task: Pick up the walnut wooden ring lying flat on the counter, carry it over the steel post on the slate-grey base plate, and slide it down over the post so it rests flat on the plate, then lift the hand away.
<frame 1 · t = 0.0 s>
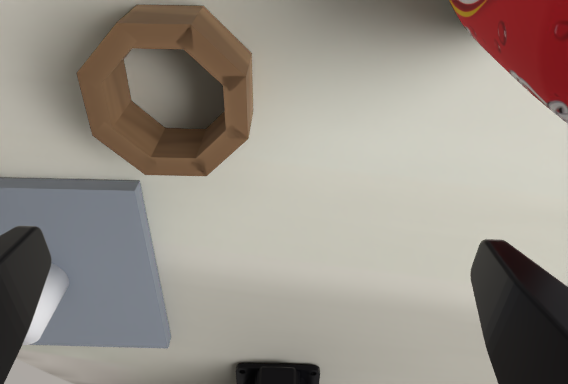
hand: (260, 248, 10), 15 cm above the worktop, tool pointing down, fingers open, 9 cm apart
walnut ring: (179, 81, 23), on the worktop
post plate: (51, 266, 30), on the worktop
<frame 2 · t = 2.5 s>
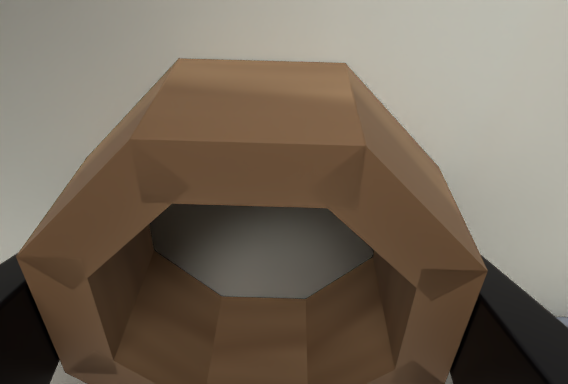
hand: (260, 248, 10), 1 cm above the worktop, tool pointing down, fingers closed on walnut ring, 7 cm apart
walnut ring: (263, 218, 10), on the worktop, touching gripper
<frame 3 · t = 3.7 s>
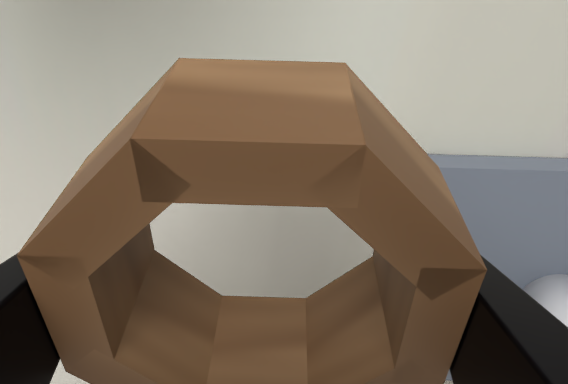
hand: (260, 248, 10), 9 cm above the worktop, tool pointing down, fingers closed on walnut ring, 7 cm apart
walnut ring: (263, 217, 10), point 8 cm above the worktop, touching gripper
post plate: (540, 281, 23), on the worktop
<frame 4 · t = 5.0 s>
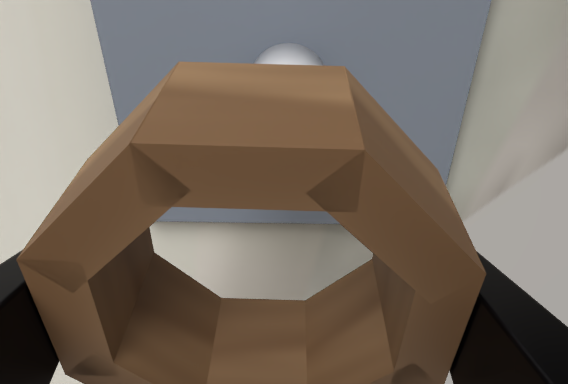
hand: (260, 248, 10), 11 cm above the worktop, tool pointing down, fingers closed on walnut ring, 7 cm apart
walnut ring: (262, 220, 10), point 10 cm above the worktop, touching gripper
post plate: (288, 72, 19), on the worktop
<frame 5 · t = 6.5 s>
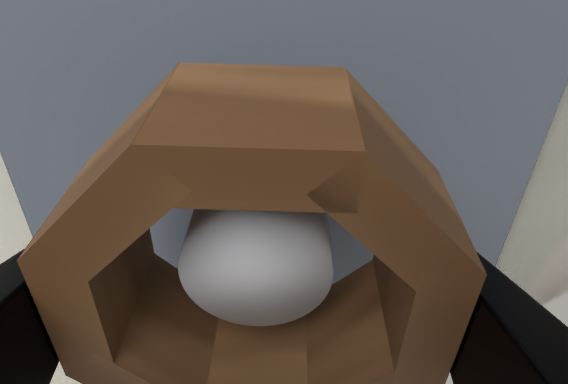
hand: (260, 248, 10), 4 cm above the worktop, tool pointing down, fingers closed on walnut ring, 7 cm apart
walnut ring: (263, 221, 10), point 3 cm above the worktop, touching gripper
post plate: (268, 147, 13), on the worktop
when the fingers open (2 cm above the worktop, at t = 7.8 s): walnut ring stays where it is, resting on post plate.
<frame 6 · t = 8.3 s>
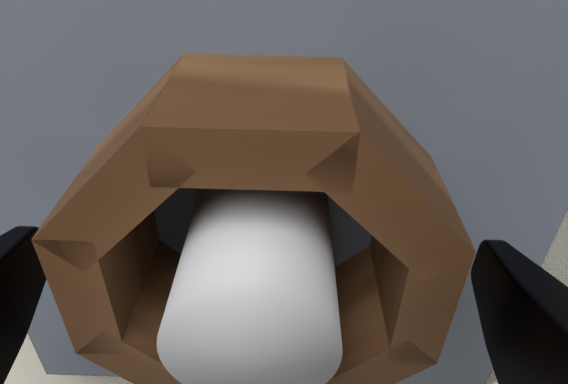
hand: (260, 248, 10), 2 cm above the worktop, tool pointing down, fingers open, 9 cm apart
walnut ring: (263, 207, 11), point 1 cm above the worktop, touching post plate
post plate: (265, 181, 12), on the worktop
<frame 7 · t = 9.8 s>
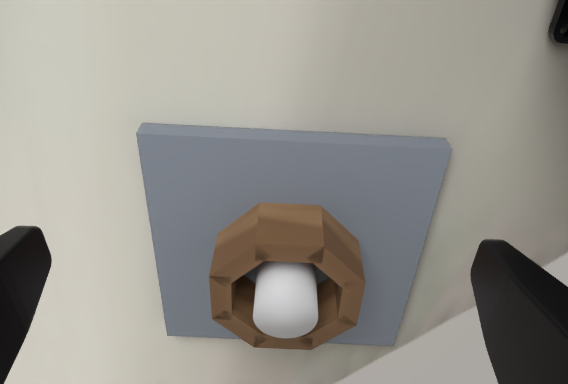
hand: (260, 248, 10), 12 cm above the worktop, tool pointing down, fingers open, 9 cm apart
walnut ring: (286, 258, 25), point 1 cm above the worktop, touching post plate
post plate: (286, 244, 25), on the worktop
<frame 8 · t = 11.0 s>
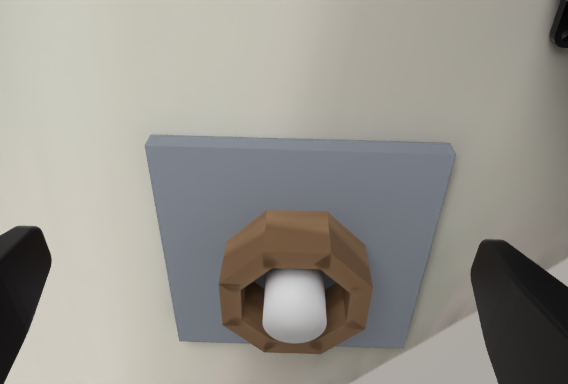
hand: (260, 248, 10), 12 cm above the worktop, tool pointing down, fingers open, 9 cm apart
walnut ring: (294, 263, 25), point 1 cm above the worktop, touching post plate
post plate: (294, 250, 26), on the worktop
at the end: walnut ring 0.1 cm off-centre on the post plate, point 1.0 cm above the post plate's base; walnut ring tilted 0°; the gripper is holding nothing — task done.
